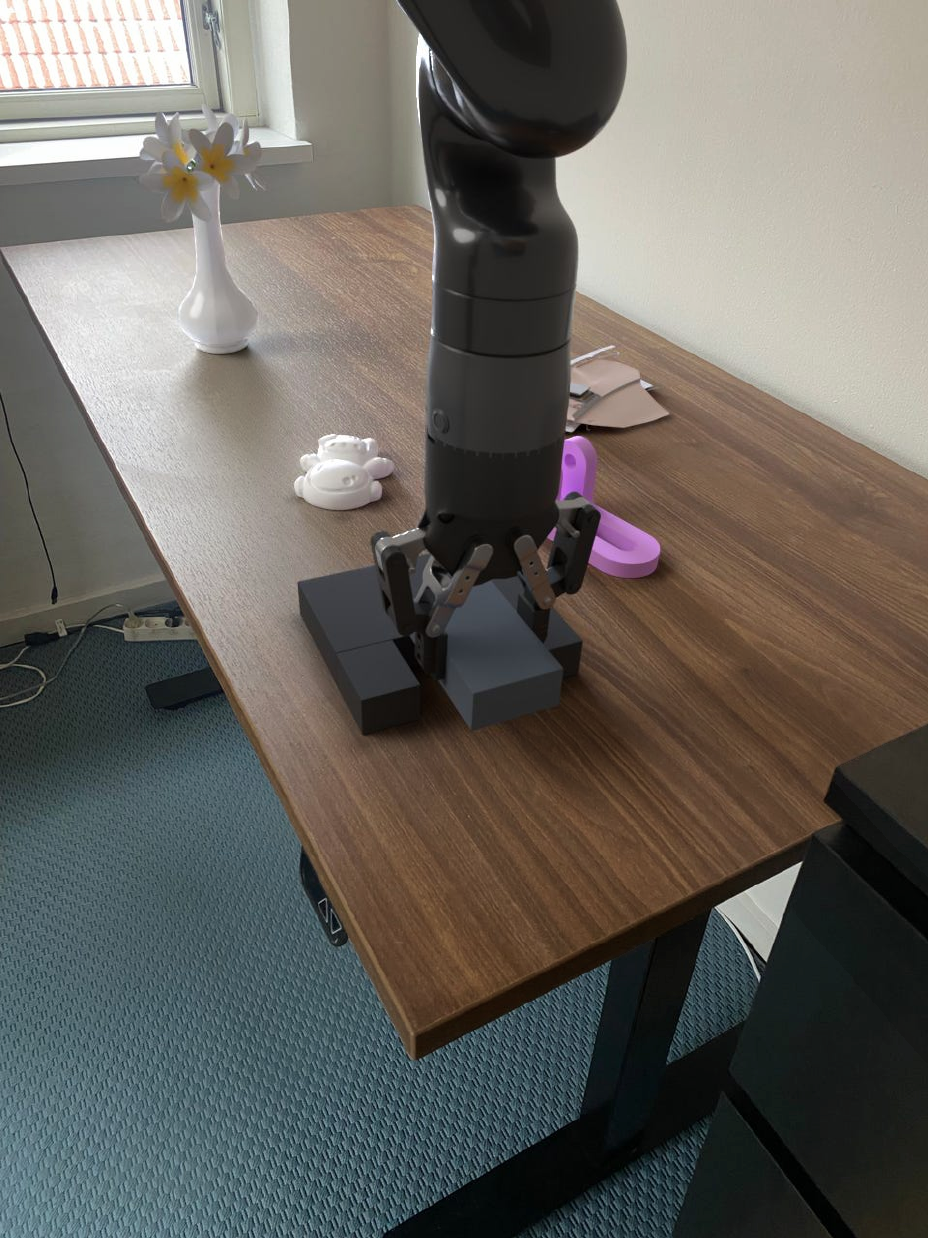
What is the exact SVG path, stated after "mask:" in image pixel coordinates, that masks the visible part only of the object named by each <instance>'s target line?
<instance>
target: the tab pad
mask: <svg viewBox="0 0 928 1238" xmlns="http://www.w3.org/2000/svg"><path fill="white" fill-rule="evenodd" d="M414 600H415V598H413V602H414ZM445 631H446V633H447V634H448V645H447V654H446V672H445V678H444V679H441V680H437V681H438V682H439V684H440V686H441V687H442V688H443V690H444V691H445V693H446V695H447V696H448V698H449V699H450V701H451V703H453V706H454V707H455V709H456V710H457V711H458V714H459V715H460V716H461V717H462V719H463V721H464V722H465V724H466V725H467V727H468V728H469V730H470V731H471V732H472V731H476V730H479V729H482V728H486V727H489V726H492V725H496V724H500V723H504V722H506V721H510V720H513V719H516V718H520V717H523V716H524V717H525V716H527V715H531V714H534V713H537V712H540V711H541V712H542V711H544V710H547V709H550V708H554V707H557V706H559V705H560V697H561V692H562V691H561V690H562V682H563V679H562V676H563V667H562V666H561V665H560V664H559V663H558V661H557V660H556V659H555V658H554V656H553V655H552V654H551V653H550V652H549V650H548V649H547V648H546V647H545V645H544V644H543V643H542V642H541V641H540V639H539V638H538V637H537V636H536V635H535V633H534V632H533V631H532V630H531V629H530V628H529V627H528V625H527V624H526V623H525V622H524V620H523V619H522V618H521V617H520V616H519V614H518V613H517V611H516V610H515V609H514V608H513V607H512V605H511V604H510V603H509V602H508V600H507V599H506V598H505V597H504V596H503V594H502V593H501V592H500V591H499V590H498V588H497V587H496V586H495V585H494V583H493V582H492V581H491V580H490V581H488V582H486V583H484V584H482V585H478V586H473V587H472V589H471V591H470V593H469V595H468V597H467V599H466V601H465V603H464V604H463V606H462V607H460V608H456V609H455V610H454V612H453V614H452V616H451V618H450V620H449V622H448V624H447V626H446V628H445ZM409 636H410V637H411V639H412V640H413V642H414V644H415V632H414V633H413V634H411V635H409Z"/></svg>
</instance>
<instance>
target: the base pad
mask: <svg viewBox="0 0 928 1238" xmlns="http://www.w3.org/2000/svg"><path fill="white" fill-rule="evenodd" d="M430 556H431V554H430V553H429V552H428V553H425V554H419V555H418V557H417V564H416V567H415V569H416V571H415V573H414V574H412V575H409V578H410V584H411V590H412V596H413V598H416V596H417V594H418V592H419V590H420V588H421V586H422V584H423V571H424V569H425V567H426V565H427V563H428V561H429V559H430ZM448 577H449V579H450V580H452V578H453V577H452V576H451V575H450V574H449V573H448ZM491 581H492V582H493V583H494V585H495V586H496V587H497V588H498V590H499V591H500V592H501V593H502V594H503V596H504V597H505V598H506V599H507V600H508V602H509V603H510V604H511V605H512V607H513V608H514V609H515V610H516V611H517V603H518V593H522V592H524V589H523V587H522V586H521V584H520V582H519V580H518V578H517V576H516V577H512V578H508V579H492V580H491ZM296 584H297V585H296V586H297V594H298V606H299V607H298V608H299V615H300V617H301V619H302V621H303V622H304V624H305V626H306V629H307V630H308V631H309V632H308V633H309V634H310V636H311V638H312V640H313V642H314V644H315V646H316V648H317V649H318V651H319V654H320V656H321V657H322V659H323V661H324V663H325V665H326V667H327V669H328V671H329V673H330V675H331V677H332V679H333V680H334V683H335V684H336V686H337V689H338V691H339V692H340V694H341V697H342V699H343V700H344V702H345V705H346V706H347V708H348V710H349V712H350V714H351V715H352V718H353V719H354V721H355V724H356V725H357V728H358V729H359V731H360V733H361V735H362V736H364V735H365V736H366V735H368V734H372V733H376V732H379V731H383V730H386V729H389V728H393V727H397V726H400V725H403V724H407V723H411V722H414V721H417V720H420V719H421V684H420V682H419V681H418V679H417V677H416V675H415V674H414V672H413V671H412V669H413V668H417V667H421V666H420V664H419V663H418V661H417V659H416V657H415V644H414V642H413V640H412V639H411V637H410V636H402V635H400V634H399V632H398V631H397V629H396V627H395V625H394V623H393V622H392V620H391V618H390V617H389V616H388V615H387V614H386V612H385V611H384V608H383V603H382V598H381V593H380V588H379V583H378V578H377V573H376V568H375V564H373V565H369V566H364V567H359V568H355V569H351V570H345V571H341V572H336V573H331V574H327V575H322V576H318V577H313V578H308V579H304V580H299V581H297V582H296ZM548 625H549V626H548V635H547V638H546V640H545V642H544V645H545V647H546V648H547V649H548V650H549V652H550V653H551V654H552V655H553V656H554V658H555V659H556V660H557V661H558V663H559V664H560V665H561V666H562V667H563V676H562V680H563V679H565V678H570V677H572V676H575V675H576V676H577V675H579V672H580V671H579V670H580V664H581V657H582V651H583V650H582V649H583V645H584V644H583V642H584V640H582V638H581V637H580V636H579V635H578V634H577V633H576V631H575V630H574V629H573V628H572V627H571V626H570V625H569V623H568V622H567V621H566V620H565V619H564V617H562V616H561V614H560V613H559V612H558V611H557V610H556V608H554V606H552V607H551V608H550V617H549V624H548Z"/></svg>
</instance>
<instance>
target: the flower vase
mask: <svg viewBox="0 0 928 1238" xmlns="http://www.w3.org/2000/svg"><path fill="white" fill-rule="evenodd" d="M201 111H202V113H203V117H204V119H205V122H206V125H207V129H205V133H204V132H202V131H201V130H199V129H198V128H190V129H185V128H182V126H181V122H180V113H179V112H178V111H177V112H176V113H175V114H174V115H173V117H172V119H171V120H170V121H169V123H168V120H167V118H166V116H165V114H164V112H162V111H160V110H159V111H158V112H157V113H156V115H155V118H154V129H155V130H154V131H155V133H156V136H157V137H155V136H146V137H145V138H144V139H143V141H142V148H141V149H140V151H139V159H140V160H142V161H153V160H154V162H153V163H152V165H151V166H150V168H149V170H148V171H147V173H144V174H141V175H139V177H138V183H139V184H140V185H141V187H143V188H144V189H146V190H148V191H150V192H153V193H158V194H161V193H162V194H163V193H165V195H164V198H163V199H162V202H161V206H160V207H161V209H160V215H161V218H162V219H163V221H164V222H166V223H169V224H171V223H174V222H176V221H177V220H178V219H179V218H180V217H181V215H182V213H183V211H184V208H185V206H187V208H188V210H189V211H190V212H191V216H192V223H193V233H194V243H195V244H194V245H195V254H196V270H195V277H194V280H193V284H192V287H191V289H190V291H189V292H188V293H187V295H185V297H184V298H183V300H182V302H181V304H180V305H179V308H178V313H177V321H178V325H179V327H180V329H181V330H182V331H183V332H184V334H186V336H187V337H188V338H190V339H191V340H193V341H194V344H195V347H196V348H197V349H198V350H199V351H201V352H204V353H207V354H214V355H225V354H233V353H237V352H240V351H242V350H243V349H245V348H246V347H247V346H248V344H249V339H248V338H249V337H250V336H252V335H253V334H254V332H255V330H256V329H257V327H258V325H259V322H260V316H259V312H258V309H257V307H256V305H255V303H254V301H253V300H252V299H251V298H250V297H249V295H247V294H246V293H245V292H244V291H243V290H242V289H240V287H239V286H238V285H237V283H236V281H235V279H234V277H233V275H232V274H231V271H230V268H229V264H228V261H227V257H226V251H225V245H224V238H223V232H222V225H221V217H220V216H221V215H220V193H221V189H222V191H223V192H224V193H225V194H226V196H228V198H230V199H231V200H233V201H238V200H239V199H240V197H241V189H240V185H239V182H238V181H237V179H236V178H235V176H233V175H244V176H245V177H246V178H247V180H248V181H249V183H250V184H251V185H252V187H253V189H254V190H255V191H256V192H258V191H259V188H258V186H259V187H260V188H261V189H262V190H264V191H265V192H267V191H268V186H267V183H266V180H265V178H264V176H263V174H262V172H261V170H259V168H258V165H257V163H258V162H259V161H260V160H261V158H262V155H263V152H262V151H263V150H262V145H261V144H260V142H259V141H257V140H253V141H251V142H249V140H250V127H249V122H248V118H247V117H246V116H244V117H243V122H242V127H241V133H240V137H239V140H235V139H236V137H237V136H238V134H239V131H240V122H239V118H238V117H237V116H236V114H234V113H230V112H229V113H227V114H225V115H224V116H223V118H222V120H221V122H220V123H219V122H218V118H217V117H216V115H215V113H214V112H213V110H212V109H211V107H209V105H207V104H206V103H202V104H201ZM195 159H196V160H197V162H196V161H195ZM189 164H190V165H189Z"/></svg>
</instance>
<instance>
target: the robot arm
mask: <svg viewBox="0 0 928 1238" xmlns="http://www.w3.org/2000/svg"><path fill="white" fill-rule="evenodd" d="M395 1H396V3H397V4H398V5H399V7H400V8H401V10H402V11H403V13H405V15H406V17H407V18H408V21H410V23H411V24H412V26H413V27H414V28H415V30H416V32H417V33H418V34H419V35H418V44H417V51H416V52H417V53H416V98H417V100H416V101H417V113H418V121H419V122H418V123H419V130H420V131H419V132H420V140H421V141H420V142H421V148H422V157H423V164H424V172H425V173H424V174H425V181H426V188H427V194H428V199H429V205H430V210H431V218H432V225H433V236H434V241H433V242H434V243H433V245H434V246H433V252H432V253H433V254H432V269H431V270H432V271H431V276H432V277H431V279H432V280H431V328H430V329H431V330H430V343H429V348H428V349H429V350H428V355H427V363H426V369H425V402H424V403H425V404H424V405H425V406H424V407H425V408H424V409H425V411H424V413H425V415H424V478H423V479H424V481H423V482H424V483H423V484H424V485H423V486H424V499H425V501H424V502H425V507H424V511H423V513H422V515H421V517H420V518H419V520H418V522H417V526H416V528H414V529H412V530H408V531H406V532H402V533H400V534H396V535H393V536H392V535H391V534H390V533H389V532H388V531H386V530H378V531H376V532H375V533H373V535H372V536H371V538H370V547H371V553H372V557H373V562H374V565H375V568H376V573H377V578H378V583H379V588H380V593H381V598H382V603H383V608H384V611H385V612H386V614H387V615H388V616H389V617H390V618H391V620H392V622H393V623H394V625H395V627H396V629H397V631H398V632H399V634H400V635H402V636H409V635H411V634H413V633H414V632H415V657H416V659H417V661H418V663H419V664H420V666H419V667H421V669H422V671H423V672H424V674H425V675H430V677H431V678H432V680H433V681H434V682H436V681H438V680H441V679H444V678H445V672H446V654H447V645H448V634H447V633H446V631H445V628H446V626H447V624H448V622H449V620H450V618H451V616H452V614H453V612H454V610H455V609H456V608H460V607H462V606H463V604H464V603H465V601H466V599H467V597H468V595H469V593H470V591H471V589H472V587H473V586H478V585H482V584H484V583H486V582H488V581H490V580H492V579H508V578H512V577H516V576H517V578H518V580H519V582H520V584H521V586H522V587H523V589H524V592H522V593H518V603H517V613H518V614H519V616H520V617H521V618H522V619H523V620H524V622H525V623H526V624H527V625H528V627H529V628H530V629H531V630H532V631H533V632H534V633H535V635H536V636H537V637H538V638H539V639H540V641H541V642H542V643H543V644H544V642H545V640H546V638H547V635H548V626H549V625H548V624H549V617H550V608H551V607H554V605H555V603H556V601H557V598H559V597H560V596H562V595H564V594H565V593H566V594H567V595H569V596H573V595H575V594H577V593H578V592H579V591H580V590H581V589H582V587H583V583H584V579H585V576H586V572H587V569H588V565H589V563H588V562H589V558H590V555H591V551H592V547H593V544H594V540H595V537H596V533H597V530H598V526H599V522H600V519H601V514H600V512H599V511H598V510H597V509H596V508H595V507H594V506H593V505H591V504H590V503H589V502H588V501H587V500H586V499H585V498H584V497H583V496H582V495H581V494H579V493H578V492H576V491H573V492H570V493H569V494H567V495H566V497H565V498H564V500H560V501H555V500H556V499H557V496H558V493H559V485H560V476H561V467H562V458H563V449H564V441H565V440H566V432H567V431H566V422H567V413H568V407H569V395H570V384H571V367H572V364H571V343H572V342H571V341H572V339H571V338H572V337H571V335H572V330H573V321H574V320H573V319H574V311H575V302H576V293H577V283H578V274H579V273H578V271H579V255H580V251H579V247H580V246H579V236H578V232H577V228H576V225H575V223H574V221H573V220H572V218H571V216H570V215H569V213H568V212H567V210H566V209H565V207H564V205H563V203H562V201H561V199H560V196H559V192H558V187H557V159H558V158H562V157H565V156H568V155H570V154H573V153H575V152H577V151H579V150H581V149H583V148H584V147H587V145H588V144H590V143H591V142H593V140H594V139H595V138H597V137H598V136H599V134H600V133H601V132H602V131H603V130H604V129H605V128H606V126H607V125H608V123H609V122H610V121H611V119H612V117H613V115H614V113H615V112H616V110H617V108H618V106H619V104H620V100H621V98H622V96H623V91H624V87H625V83H626V78H627V71H628V70H627V69H628V45H627V33H626V29H625V25H624V19H623V16H622V12H621V9H620V7H619V3H618V0H395ZM554 527H555V528H556V533H555V537H554V541H552V545H551V549H550V553H549V557H548V562H547V564H546V568H545V566H544V563H543V561H542V559H541V556H540V554H539V552H538V551H539V549H540V548H541V546H543V543H544V542H545V541H546V540H547V539H548V538H547V537H548V535H549V534H550V533H551V531H552V530H553V529H554ZM425 550H426V551H427V552H428V553H430V554H431V556H430V559H429V561H428V563H427V565H426V567H425V569H424V571H423V584H422V586H421V588H420V590H419V592H418V594H417V596H416V598H415V600H414V602H413V596H412V590H411V584H410V578H409V575H412V574H414V573H415V571H416V569H415V567H416V564H417V557H418V556H419V555H421V553H423V551H425ZM448 573H449V574H450V575H451V576H452V577H453V578H452V580H450V579H449V577H448Z"/></svg>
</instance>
